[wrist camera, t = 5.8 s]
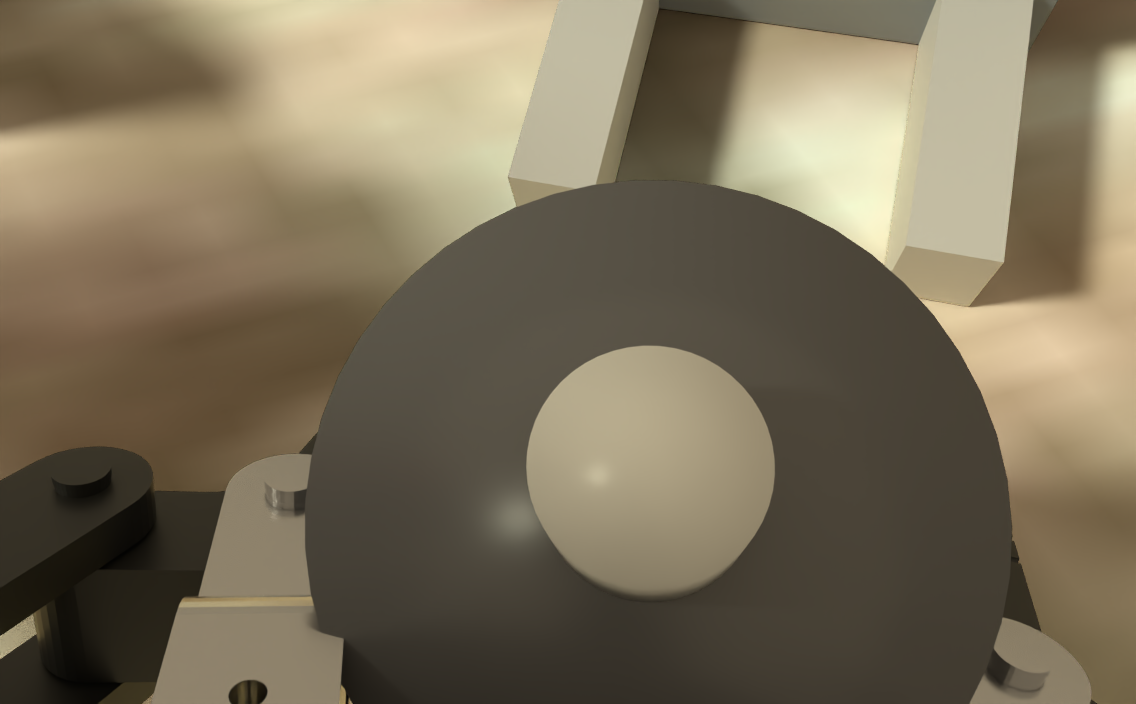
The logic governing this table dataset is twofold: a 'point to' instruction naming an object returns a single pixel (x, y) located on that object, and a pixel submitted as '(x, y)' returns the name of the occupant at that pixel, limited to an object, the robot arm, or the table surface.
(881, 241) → the table surface
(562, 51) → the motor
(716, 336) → the dark grey tube
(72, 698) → the robot arm
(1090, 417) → the table surface
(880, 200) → the table surface
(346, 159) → the table surface
